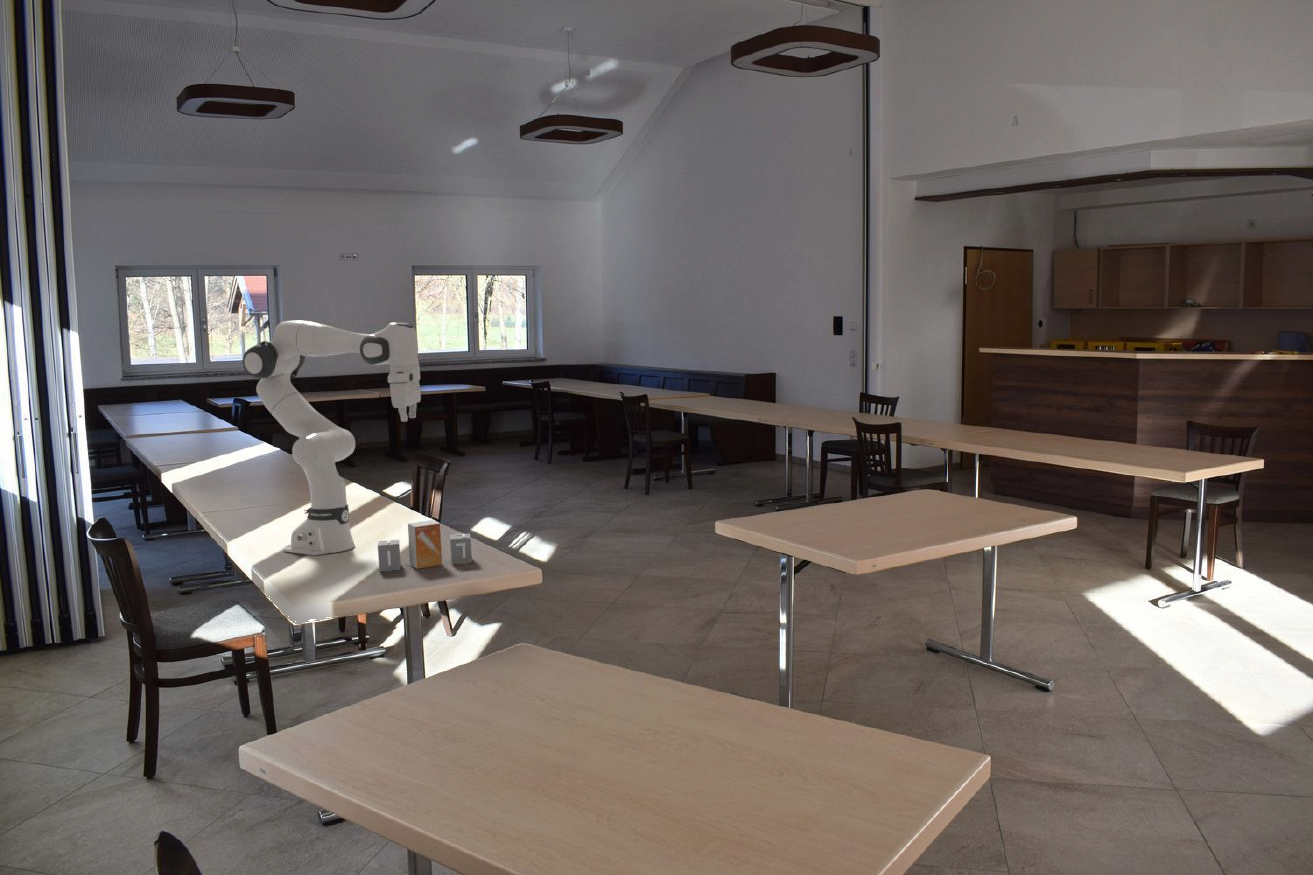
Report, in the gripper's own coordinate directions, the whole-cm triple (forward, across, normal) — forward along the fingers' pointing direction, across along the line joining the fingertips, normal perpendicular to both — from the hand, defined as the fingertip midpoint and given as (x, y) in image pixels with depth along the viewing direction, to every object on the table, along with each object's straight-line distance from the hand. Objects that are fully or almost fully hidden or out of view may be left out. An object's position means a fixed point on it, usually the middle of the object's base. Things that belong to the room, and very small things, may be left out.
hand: (408, 419), depth 301 cm
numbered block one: (+43, +15, -5) cm, 46 cm away
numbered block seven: (+43, +9, +16) cm, 47 cm away
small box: (+44, +12, +6) cm, 45 cm away
